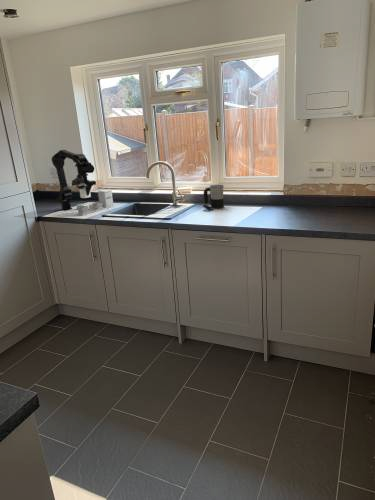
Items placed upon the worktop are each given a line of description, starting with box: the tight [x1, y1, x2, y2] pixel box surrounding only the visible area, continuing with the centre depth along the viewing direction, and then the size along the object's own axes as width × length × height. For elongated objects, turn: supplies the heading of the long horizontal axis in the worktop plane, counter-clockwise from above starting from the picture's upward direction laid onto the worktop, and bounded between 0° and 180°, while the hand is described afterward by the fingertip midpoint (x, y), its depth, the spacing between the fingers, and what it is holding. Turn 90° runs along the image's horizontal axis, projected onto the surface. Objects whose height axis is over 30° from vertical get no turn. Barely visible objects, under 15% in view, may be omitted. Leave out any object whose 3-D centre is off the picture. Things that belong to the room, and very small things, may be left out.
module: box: [78, 187, 92, 199], centre depth 280 cm, size 4×6×6 cm
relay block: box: [76, 203, 85, 211], centre depth 298 cm, size 4×4×4 cm
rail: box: [76, 201, 106, 217], centre depth 283 cm, size 6×22×6 cm, turn 147°
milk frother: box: [202, 184, 225, 211], centre depth 266 cm, size 14×16×15 cm
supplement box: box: [97, 189, 114, 209], centre depth 295 cm, size 7×7×13 cm
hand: (85, 195), depth 281 cm, fingers closed on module, 4 cm apart
